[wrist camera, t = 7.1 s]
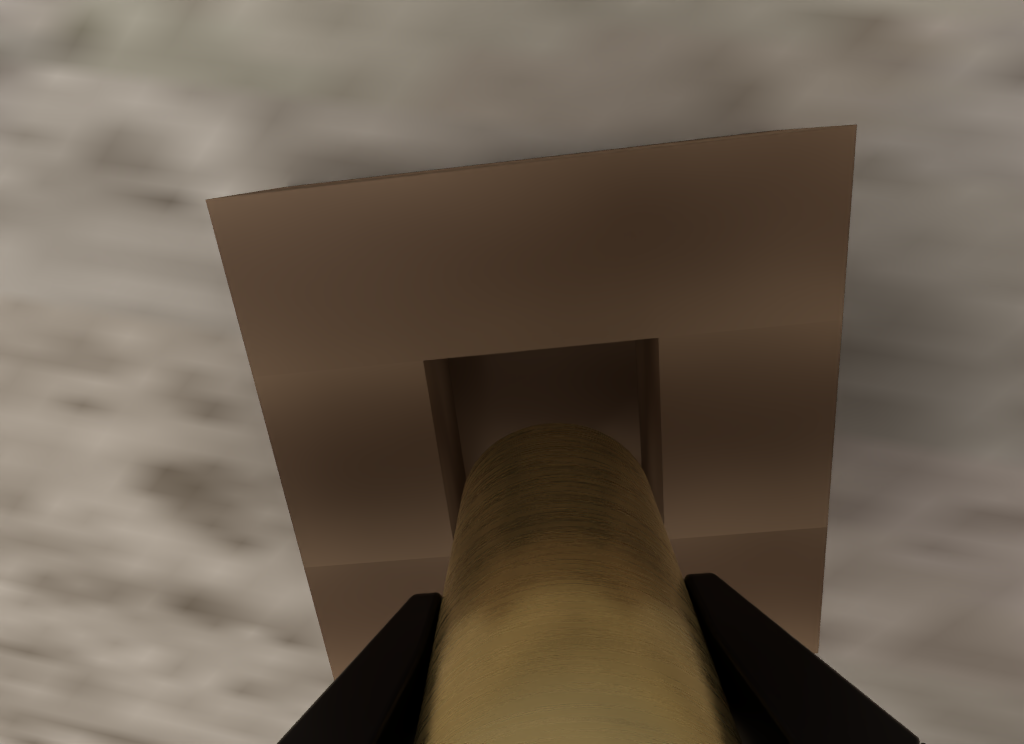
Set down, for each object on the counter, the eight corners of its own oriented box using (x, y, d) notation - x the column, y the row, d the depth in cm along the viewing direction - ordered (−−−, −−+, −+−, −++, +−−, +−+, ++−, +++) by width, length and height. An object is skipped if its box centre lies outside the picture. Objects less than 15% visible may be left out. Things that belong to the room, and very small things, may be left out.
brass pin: (654, 581, 12) (973, 1667, 3) (474, 594, 12) (344, 1648, 4) (648, 414, 11) (1112, 1437, 2) (448, 431, 11) (164, 1426, 2)
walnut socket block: (759, 552, 19) (818, 653, 15) (372, 581, 19) (335, 685, 16) (772, 131, 15) (856, 124, 11) (284, 187, 15) (205, 199, 12)
